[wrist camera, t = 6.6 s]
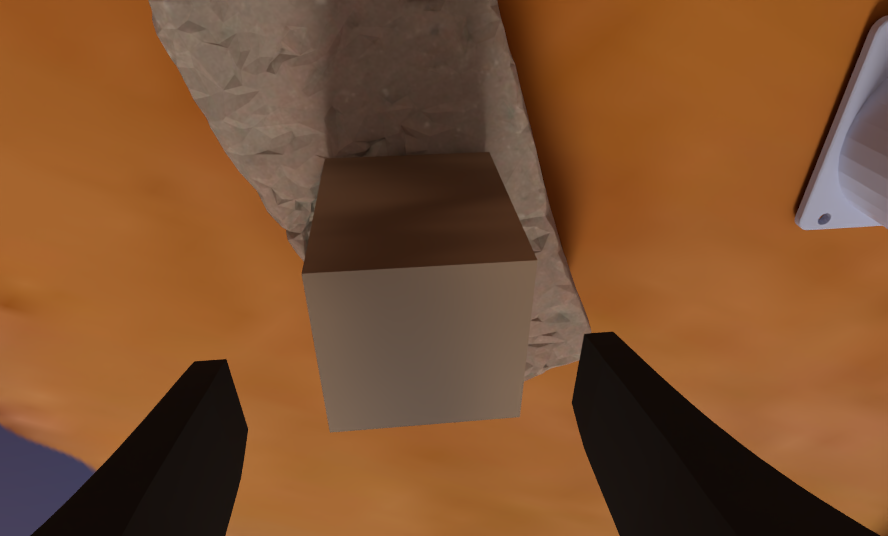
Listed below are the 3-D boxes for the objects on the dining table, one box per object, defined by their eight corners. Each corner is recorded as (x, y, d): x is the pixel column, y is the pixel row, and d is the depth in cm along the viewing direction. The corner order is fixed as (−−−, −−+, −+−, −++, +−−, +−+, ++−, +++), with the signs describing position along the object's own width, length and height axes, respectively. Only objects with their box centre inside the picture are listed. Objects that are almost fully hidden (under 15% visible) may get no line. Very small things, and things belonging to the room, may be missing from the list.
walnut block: (489, 151, 15) (537, 260, 11) (482, 283, 18) (519, 416, 13) (324, 158, 15) (301, 273, 10) (342, 292, 17) (329, 432, 13)
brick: (171, -31, 16) (104, -7, 12) (439, -152, 15) (460, -169, 11) (393, 351, 25) (395, 434, 21) (567, 291, 24) (604, 366, 20)
